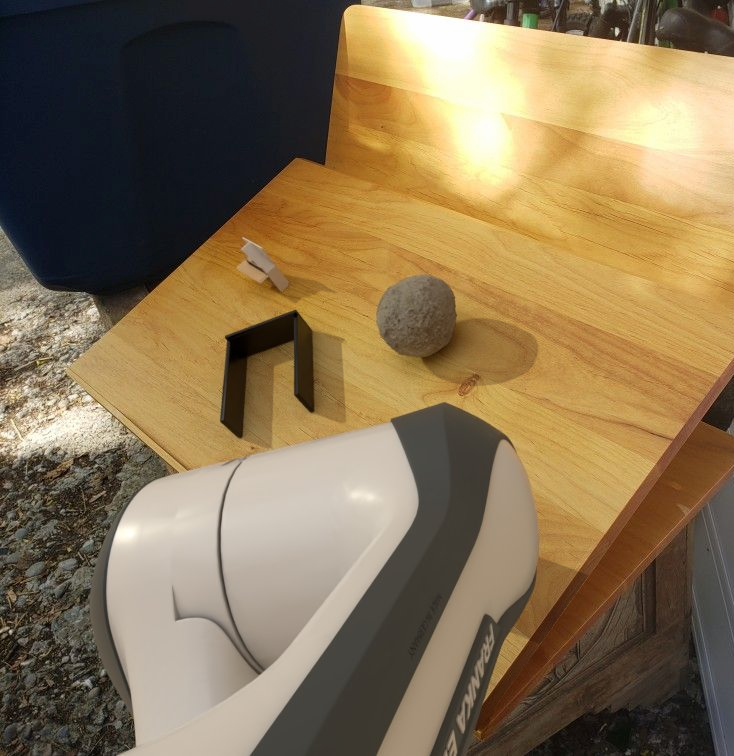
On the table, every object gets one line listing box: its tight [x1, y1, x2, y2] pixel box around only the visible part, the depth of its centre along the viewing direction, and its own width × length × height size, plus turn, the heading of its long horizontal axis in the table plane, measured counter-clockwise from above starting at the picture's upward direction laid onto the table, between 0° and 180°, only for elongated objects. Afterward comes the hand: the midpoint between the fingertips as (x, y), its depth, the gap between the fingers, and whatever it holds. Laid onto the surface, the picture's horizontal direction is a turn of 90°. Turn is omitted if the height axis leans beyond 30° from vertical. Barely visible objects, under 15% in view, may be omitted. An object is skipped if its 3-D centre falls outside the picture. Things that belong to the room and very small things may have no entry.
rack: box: [219, 309, 315, 439], centre depth 89 cm, size 15×11×4 cm
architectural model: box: [236, 236, 290, 293], centre depth 101 cm, size 3×7×7 cm, turn 49°
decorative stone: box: [375, 274, 458, 358], centre depth 83 cm, size 10×8×10 cm
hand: (401, 567), depth 52 cm, fingers open, 8 cm apart
